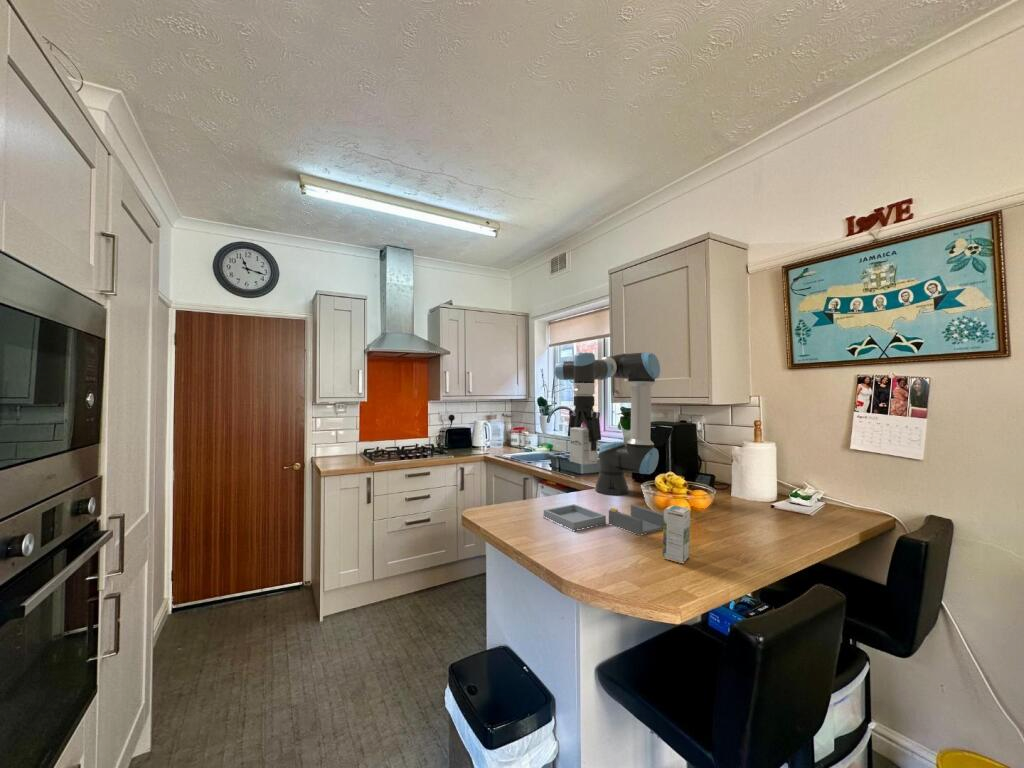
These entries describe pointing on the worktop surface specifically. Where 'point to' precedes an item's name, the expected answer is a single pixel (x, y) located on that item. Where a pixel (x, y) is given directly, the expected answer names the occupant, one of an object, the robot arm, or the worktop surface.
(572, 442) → the supplement box
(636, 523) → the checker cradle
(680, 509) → the syrup box
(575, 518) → the tray
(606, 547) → the worktop surface
